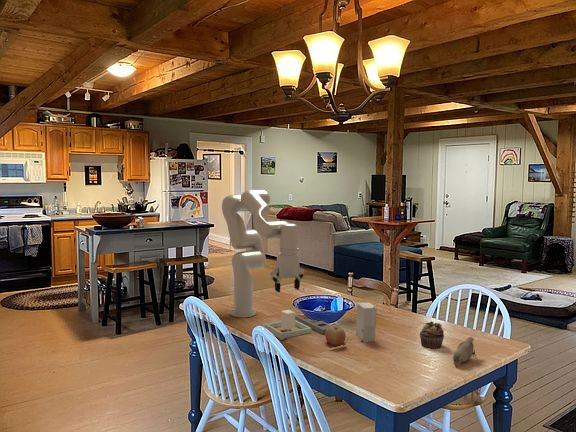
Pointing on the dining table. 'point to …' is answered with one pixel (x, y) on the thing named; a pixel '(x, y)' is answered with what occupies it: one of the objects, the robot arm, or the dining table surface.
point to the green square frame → (283, 335)
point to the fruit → (335, 335)
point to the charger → (288, 320)
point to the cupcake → (432, 336)
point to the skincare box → (366, 321)
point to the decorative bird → (464, 352)
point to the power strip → (313, 323)
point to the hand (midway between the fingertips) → (287, 290)
